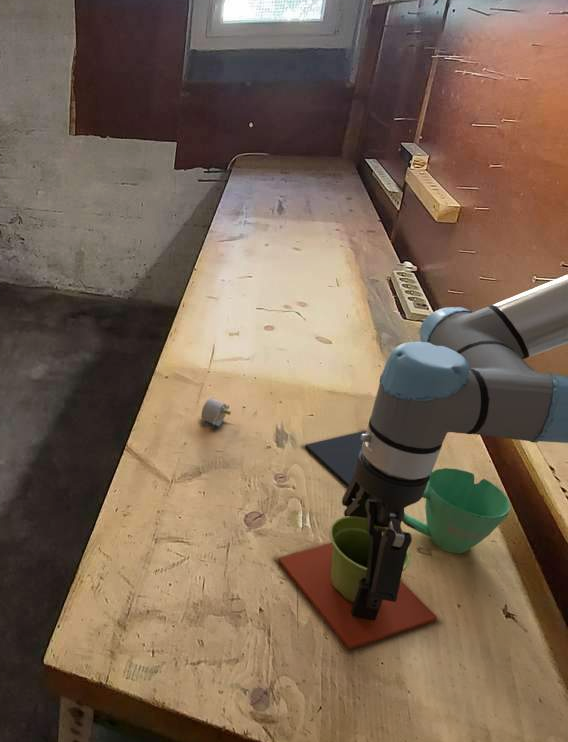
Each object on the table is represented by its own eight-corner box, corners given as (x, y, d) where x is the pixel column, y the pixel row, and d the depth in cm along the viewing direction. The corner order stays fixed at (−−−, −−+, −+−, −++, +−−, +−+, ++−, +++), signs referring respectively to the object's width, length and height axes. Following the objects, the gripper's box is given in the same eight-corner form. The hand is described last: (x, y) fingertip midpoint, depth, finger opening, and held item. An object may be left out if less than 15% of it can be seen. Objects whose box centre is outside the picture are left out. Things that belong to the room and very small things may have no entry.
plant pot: (400, 626, 74) (418, 582, 70) (320, 605, 77) (334, 561, 73) (386, 568, 81) (401, 525, 78) (314, 551, 84) (326, 509, 81)
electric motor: (219, 437, 109) (222, 417, 107) (197, 427, 112) (199, 407, 110) (235, 420, 114) (238, 400, 111) (213, 411, 117) (215, 391, 114)
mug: (473, 522, 89) (494, 474, 84) (499, 574, 81) (523, 524, 76) (369, 503, 93) (384, 457, 89) (383, 551, 85) (400, 502, 80)
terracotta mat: (436, 620, 75) (437, 617, 75) (348, 649, 72) (349, 646, 71) (355, 538, 87) (356, 535, 87) (277, 560, 84) (278, 557, 84)
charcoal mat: (430, 482, 97) (431, 479, 97) (362, 500, 94) (363, 497, 93) (366, 432, 109) (367, 430, 109) (304, 447, 106) (305, 444, 106)
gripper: (341, 404, 79) (310, 519, 89) (387, 523, 60) (342, 652, 70) (400, 411, 78) (363, 528, 87) (467, 536, 59) (409, 667, 69)
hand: (353, 583), depth 79 cm, fingers open, 9 cm apart
